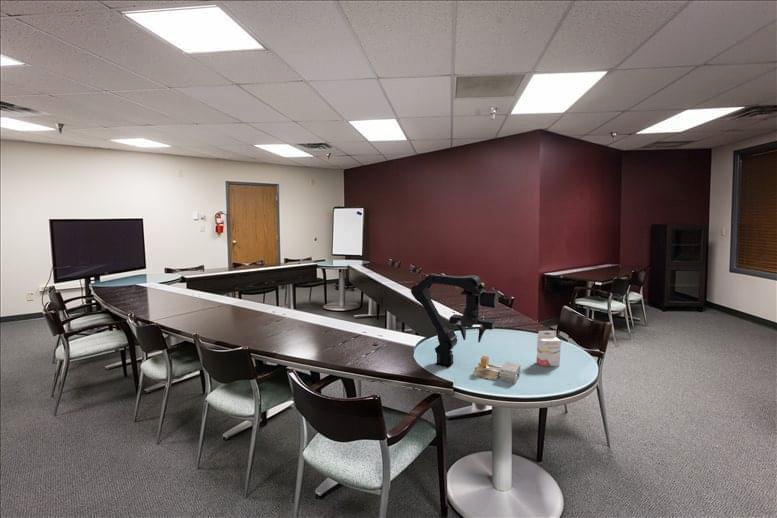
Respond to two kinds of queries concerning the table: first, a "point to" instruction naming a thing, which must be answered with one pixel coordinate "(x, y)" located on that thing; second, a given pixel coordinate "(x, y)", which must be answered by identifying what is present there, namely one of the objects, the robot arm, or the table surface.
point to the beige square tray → (486, 372)
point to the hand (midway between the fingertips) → (471, 341)
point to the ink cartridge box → (548, 349)
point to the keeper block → (510, 372)
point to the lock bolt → (486, 364)
